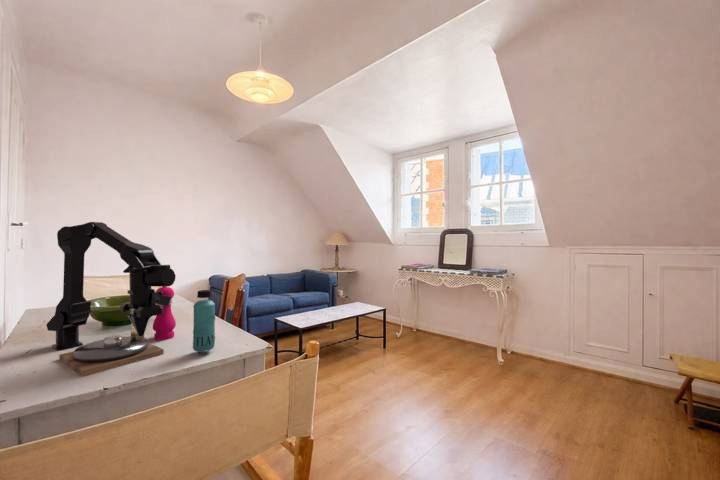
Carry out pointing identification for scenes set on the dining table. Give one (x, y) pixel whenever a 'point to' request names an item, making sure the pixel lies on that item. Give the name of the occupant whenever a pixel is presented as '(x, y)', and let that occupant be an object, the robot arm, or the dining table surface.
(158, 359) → the dining table surface
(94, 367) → the wheel mount
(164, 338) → the pepper mill
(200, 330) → the beverage bottle
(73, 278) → the robot arm
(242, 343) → the dining table surface
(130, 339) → the handwheel
